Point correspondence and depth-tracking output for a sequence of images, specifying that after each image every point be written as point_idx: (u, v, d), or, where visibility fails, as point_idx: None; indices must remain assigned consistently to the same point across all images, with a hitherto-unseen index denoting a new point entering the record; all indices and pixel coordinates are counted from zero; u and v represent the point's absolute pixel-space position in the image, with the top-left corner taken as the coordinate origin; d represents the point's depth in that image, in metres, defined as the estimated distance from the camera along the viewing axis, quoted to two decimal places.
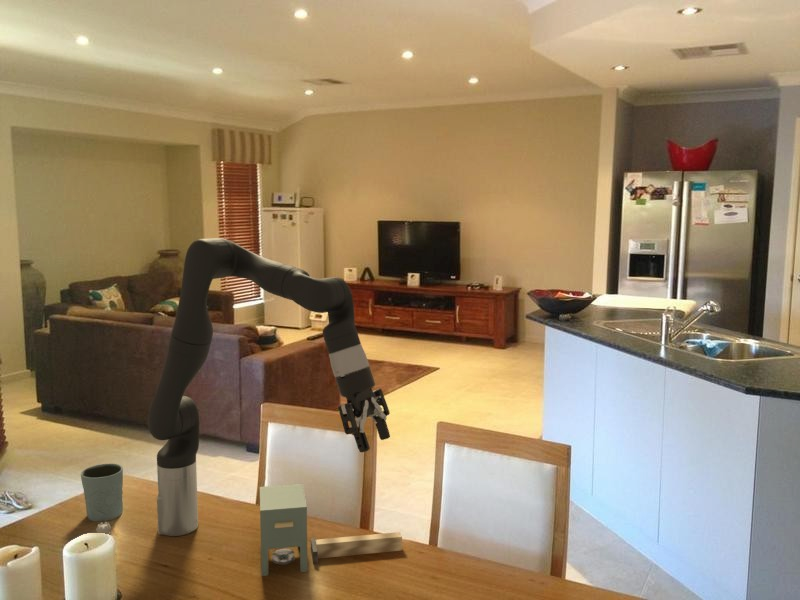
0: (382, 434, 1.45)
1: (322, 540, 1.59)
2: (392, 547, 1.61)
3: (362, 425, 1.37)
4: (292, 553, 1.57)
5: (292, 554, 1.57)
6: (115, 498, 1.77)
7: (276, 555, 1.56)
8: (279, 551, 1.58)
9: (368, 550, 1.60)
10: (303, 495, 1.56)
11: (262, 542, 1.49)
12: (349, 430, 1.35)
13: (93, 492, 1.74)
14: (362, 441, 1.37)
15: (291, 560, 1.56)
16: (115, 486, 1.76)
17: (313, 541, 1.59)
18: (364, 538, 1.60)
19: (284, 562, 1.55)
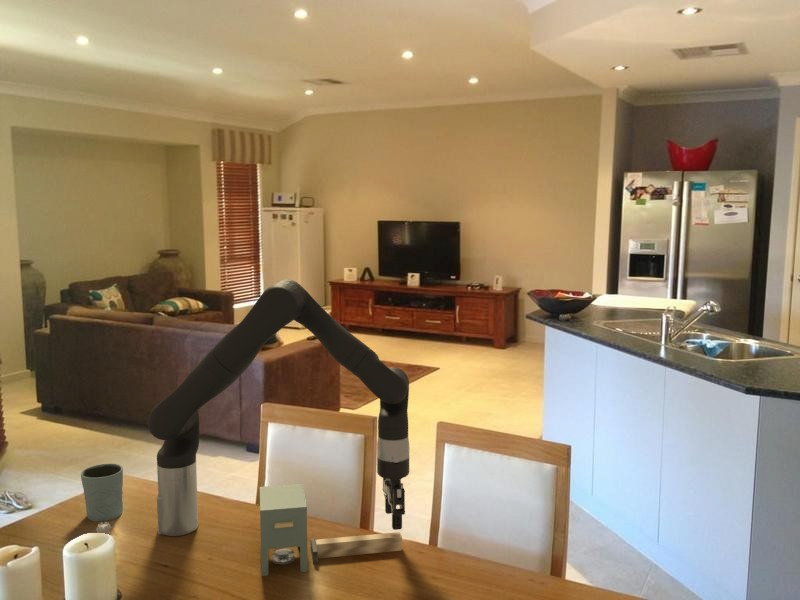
0: (389, 509, 1.65)
1: (322, 540, 1.59)
2: (392, 547, 1.61)
3: None
4: (292, 553, 1.57)
5: (292, 554, 1.57)
6: (115, 498, 1.77)
7: (276, 555, 1.56)
8: (279, 551, 1.58)
9: (368, 550, 1.60)
10: (303, 495, 1.56)
11: (262, 542, 1.49)
12: (399, 512, 1.54)
13: (93, 492, 1.74)
14: (400, 521, 1.56)
15: (291, 560, 1.56)
16: (115, 486, 1.76)
17: (313, 541, 1.59)
18: (364, 538, 1.60)
19: (284, 562, 1.55)
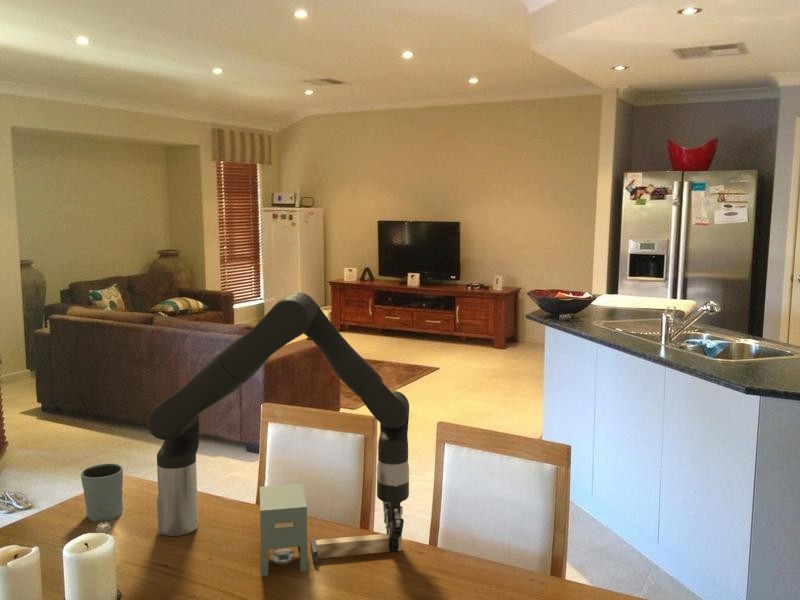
0: None
1: (322, 540, 1.59)
2: None
3: None
4: (292, 553, 1.57)
5: (292, 554, 1.57)
6: (115, 498, 1.77)
7: (276, 555, 1.56)
8: (279, 551, 1.58)
9: (368, 550, 1.60)
10: (303, 495, 1.56)
11: (262, 542, 1.49)
12: (396, 535, 1.57)
13: (93, 492, 1.74)
14: None
15: (291, 560, 1.56)
16: (115, 486, 1.76)
17: (313, 541, 1.60)
18: (364, 538, 1.60)
19: (284, 562, 1.55)
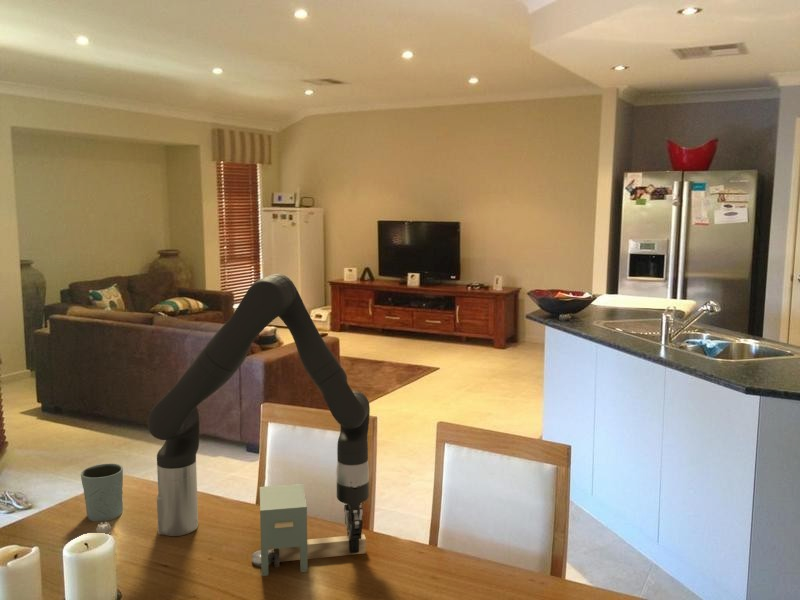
0: None
1: None
2: None
3: None
4: (272, 554, 1.56)
5: (272, 555, 1.56)
6: (115, 498, 1.77)
7: (255, 556, 1.55)
8: (259, 552, 1.57)
9: (332, 553, 1.58)
10: (303, 495, 1.56)
11: (262, 542, 1.49)
12: (355, 536, 1.56)
13: (93, 492, 1.74)
14: None
15: (270, 561, 1.55)
16: (115, 486, 1.76)
17: None
18: (327, 541, 1.58)
19: None
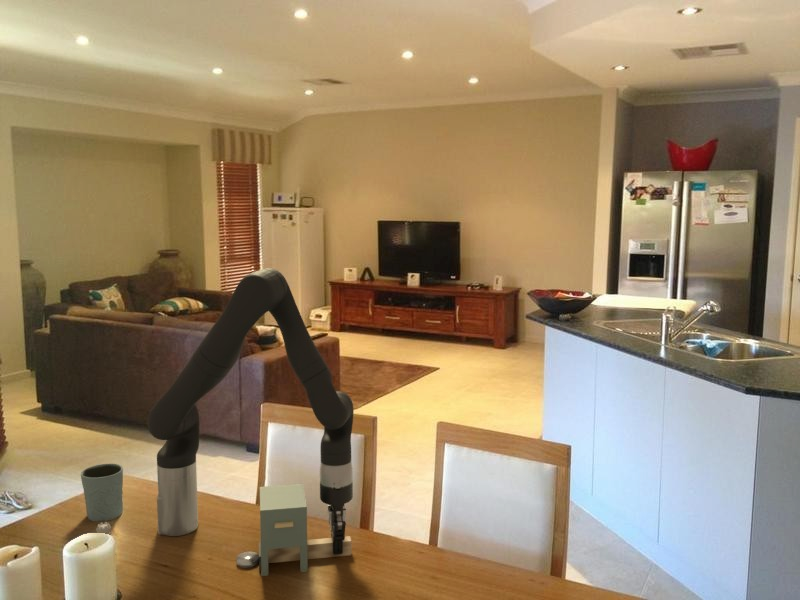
0: None
1: None
2: None
3: None
4: (257, 556, 1.56)
5: (256, 557, 1.55)
6: (115, 498, 1.77)
7: (240, 558, 1.55)
8: (244, 554, 1.57)
9: (317, 554, 1.57)
10: (303, 495, 1.56)
11: (262, 542, 1.49)
12: (338, 538, 1.55)
13: (93, 492, 1.74)
14: (340, 546, 1.57)
15: (255, 563, 1.54)
16: (115, 486, 1.76)
17: None
18: (312, 542, 1.58)
19: (248, 566, 1.53)
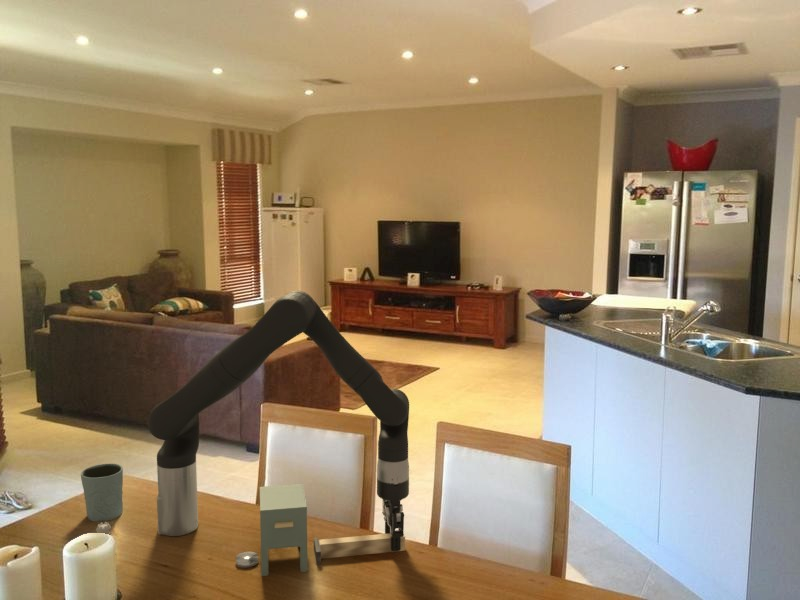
0: (389, 532, 1.65)
1: (325, 540, 1.59)
2: None
3: None
4: (256, 556, 1.56)
5: (256, 557, 1.55)
6: (115, 498, 1.77)
7: (239, 558, 1.55)
8: (243, 554, 1.57)
9: (372, 550, 1.60)
10: (303, 495, 1.56)
11: (262, 542, 1.49)
12: (398, 534, 1.55)
13: (93, 492, 1.74)
14: (399, 542, 1.58)
15: (254, 563, 1.54)
16: (115, 486, 1.76)
17: (316, 541, 1.59)
18: (367, 538, 1.60)
19: (247, 566, 1.53)
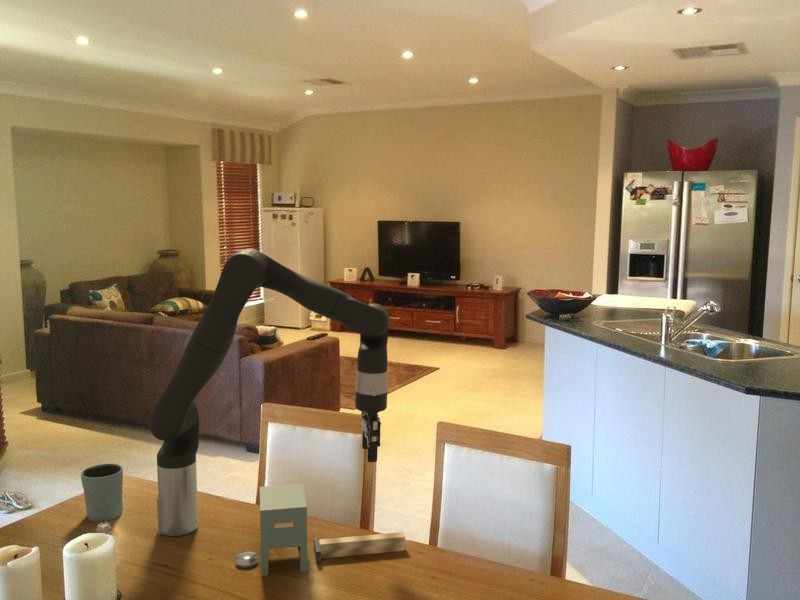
0: (366, 444, 1.67)
1: (325, 540, 1.59)
2: (395, 547, 1.61)
3: None
4: (256, 556, 1.56)
5: (256, 557, 1.55)
6: (115, 498, 1.77)
7: (239, 558, 1.55)
8: (243, 554, 1.57)
9: (372, 550, 1.60)
10: (303, 495, 1.56)
11: (262, 542, 1.49)
12: (374, 444, 1.56)
13: (93, 492, 1.74)
14: (375, 453, 1.58)
15: (254, 563, 1.54)
16: (115, 486, 1.76)
17: (316, 541, 1.60)
18: (367, 538, 1.60)
19: (247, 566, 1.53)
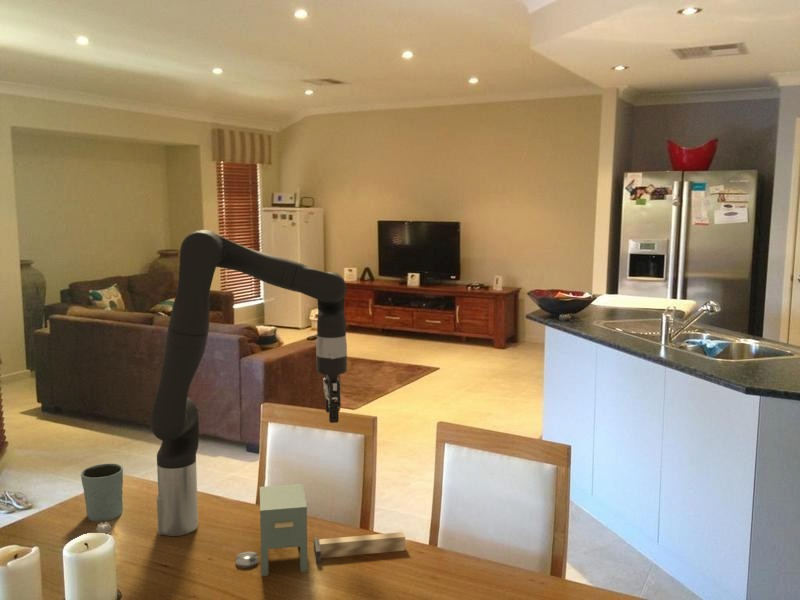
0: (329, 408, 1.75)
1: (325, 540, 1.59)
2: (395, 547, 1.61)
3: None
4: (256, 556, 1.56)
5: (256, 557, 1.55)
6: (115, 498, 1.77)
7: (239, 558, 1.55)
8: (243, 554, 1.57)
9: (372, 550, 1.60)
10: (303, 495, 1.56)
11: (262, 542, 1.49)
12: (335, 405, 1.63)
13: (93, 492, 1.74)
14: (336, 414, 1.66)
15: (254, 563, 1.54)
16: (115, 486, 1.76)
17: (316, 541, 1.60)
18: (367, 538, 1.60)
19: (247, 565, 1.53)
